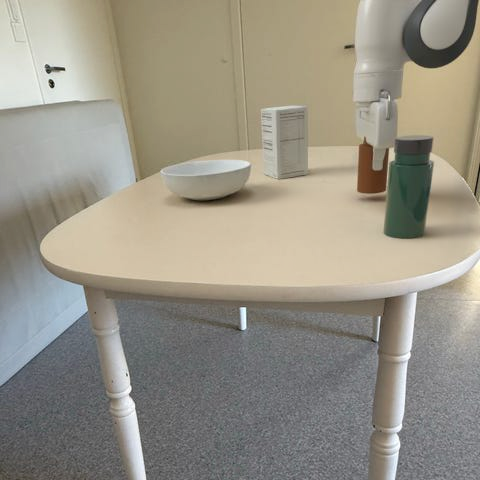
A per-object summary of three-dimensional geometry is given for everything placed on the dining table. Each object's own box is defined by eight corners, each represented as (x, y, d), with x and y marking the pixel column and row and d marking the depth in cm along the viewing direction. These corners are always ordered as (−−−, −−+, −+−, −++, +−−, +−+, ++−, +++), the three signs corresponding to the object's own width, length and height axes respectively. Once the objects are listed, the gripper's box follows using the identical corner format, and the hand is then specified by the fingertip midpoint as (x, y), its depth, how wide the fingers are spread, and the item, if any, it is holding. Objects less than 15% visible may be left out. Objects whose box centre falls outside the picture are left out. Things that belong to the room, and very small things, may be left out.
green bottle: (417, 225, 76) (429, 133, 69) (430, 237, 70) (444, 138, 63) (379, 227, 76) (387, 136, 69) (388, 239, 70) (397, 141, 64)
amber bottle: (382, 186, 95) (386, 122, 89) (389, 192, 90) (394, 125, 84) (354, 188, 95) (357, 125, 89) (359, 194, 90) (362, 127, 84)
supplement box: (292, 170, 128) (292, 105, 120) (309, 174, 120) (309, 105, 112) (262, 174, 125) (259, 108, 117) (277, 179, 117) (275, 109, 109)
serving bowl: (269, 189, 107) (268, 159, 104) (217, 211, 93) (214, 177, 89) (201, 184, 118) (199, 157, 115) (145, 203, 103) (140, 172, 100)
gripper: (410, 89, 74) (402, 175, 81) (381, 87, 92) (377, 157, 99) (371, 92, 75) (367, 177, 81) (351, 90, 93) (348, 159, 99)
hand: (372, 166), depth 90 cm, fingers closed on amber bottle, 6 cm apart
